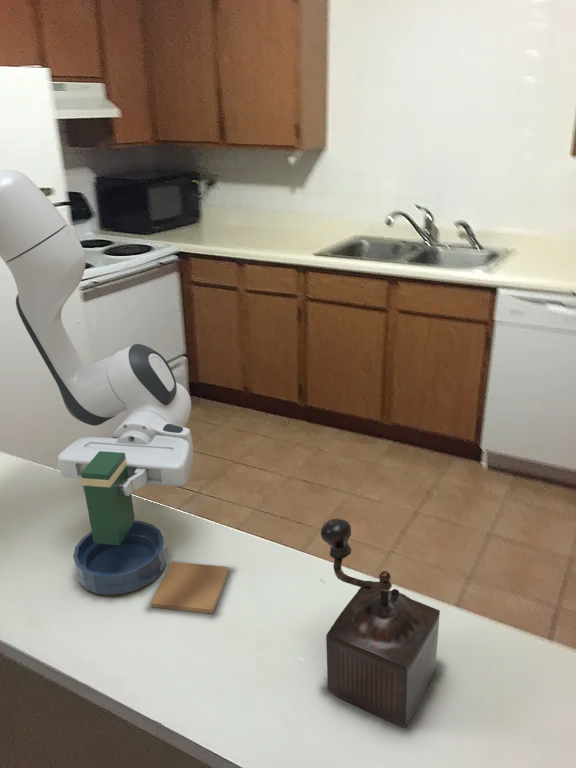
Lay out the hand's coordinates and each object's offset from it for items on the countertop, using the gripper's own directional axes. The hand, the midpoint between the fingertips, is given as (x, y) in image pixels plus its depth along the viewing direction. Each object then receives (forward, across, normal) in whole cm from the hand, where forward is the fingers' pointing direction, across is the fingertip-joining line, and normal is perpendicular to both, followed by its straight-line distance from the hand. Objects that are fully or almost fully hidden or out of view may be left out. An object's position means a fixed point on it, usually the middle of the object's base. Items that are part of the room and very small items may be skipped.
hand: (105, 490), depth 95 cm
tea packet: (-1, 0, +8) cm, 8 cm away
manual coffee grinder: (+13, +38, +15) cm, 43 cm away
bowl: (-1, 0, +15) cm, 15 cm away
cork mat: (+2, +12, +14) cm, 19 cm away
